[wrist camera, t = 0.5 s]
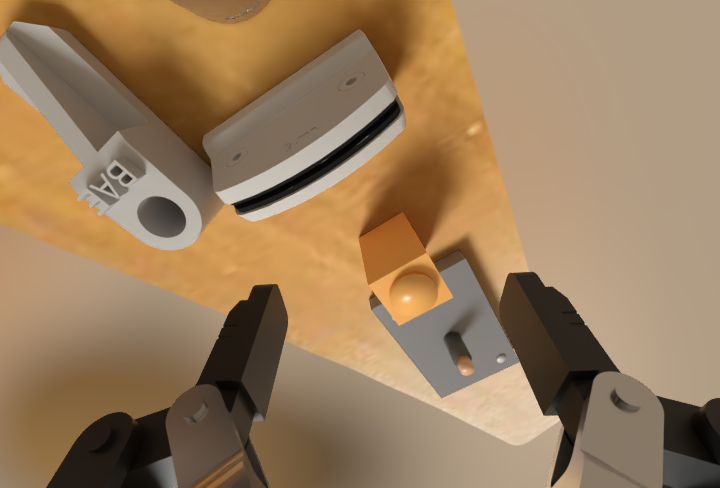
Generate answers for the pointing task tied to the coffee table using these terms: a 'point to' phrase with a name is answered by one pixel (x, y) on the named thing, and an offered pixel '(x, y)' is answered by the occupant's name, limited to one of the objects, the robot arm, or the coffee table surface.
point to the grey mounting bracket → (111, 138)
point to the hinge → (306, 131)
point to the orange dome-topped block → (401, 270)
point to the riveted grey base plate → (453, 332)
